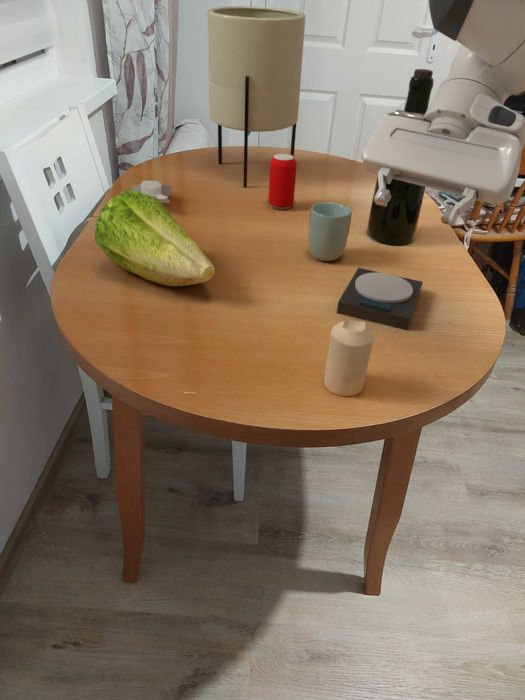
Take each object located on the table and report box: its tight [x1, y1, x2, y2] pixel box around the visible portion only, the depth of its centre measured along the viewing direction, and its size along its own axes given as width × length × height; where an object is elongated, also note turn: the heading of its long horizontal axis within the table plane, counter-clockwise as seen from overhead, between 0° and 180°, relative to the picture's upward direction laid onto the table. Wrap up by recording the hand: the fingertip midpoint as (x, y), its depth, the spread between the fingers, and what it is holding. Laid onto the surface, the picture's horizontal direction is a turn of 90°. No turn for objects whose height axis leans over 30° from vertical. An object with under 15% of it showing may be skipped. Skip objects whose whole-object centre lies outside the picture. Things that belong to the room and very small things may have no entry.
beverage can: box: [267, 153, 298, 211], centre depth 123 cm, size 6×6×12 cm
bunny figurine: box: [130, 180, 172, 205], centre depth 123 cm, size 10×5×15 cm
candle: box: [323, 317, 375, 397], centre depth 69 cm, size 6×6×10 cm
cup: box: [307, 201, 352, 262], centre depth 102 cm, size 8×8×10 cm
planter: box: [206, 5, 307, 188], centre depth 135 cm, size 23×24×39 cm
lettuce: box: [94, 189, 215, 287], centre depth 91 cm, size 14×24×15 cm
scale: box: [336, 267, 424, 331], centre depth 90 cm, size 12×14×3 cm
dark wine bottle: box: [366, 68, 435, 245], centre depth 105 cm, size 10×10×33 cm
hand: (412, 212), depth 68 cm, fingers open, 8 cm apart
